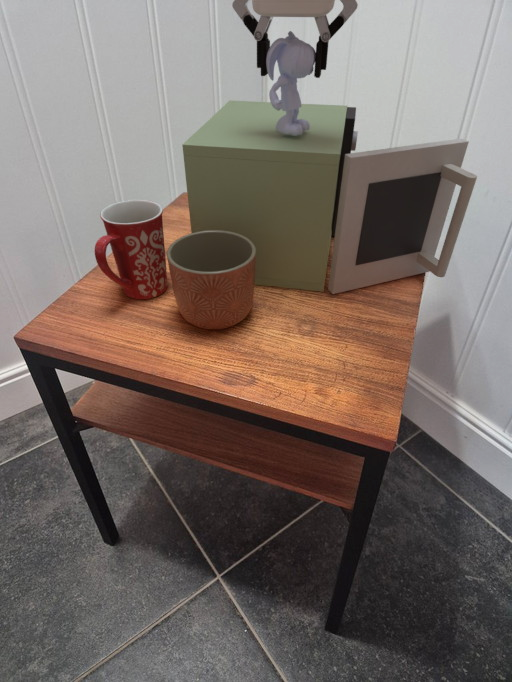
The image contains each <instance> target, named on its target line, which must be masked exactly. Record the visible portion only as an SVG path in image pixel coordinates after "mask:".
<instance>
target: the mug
mask: <svg viewBox="0 0 512 682" xmlns="http://www.w3.org/2000/svg"><path fill="white" fill-rule="evenodd" d="M163 213H164V209H163V207H162V205H160V204H159V203H158V202H155V201H151V200H147V199H127V200H122V201H118V202H114V203H112V204H109V205H107V206H106V207H104V208H103V209H102V210H101V211H100V213H99V217H100V220H101V221H102V222H103V225H104V229H105V232H106V235H103V236H101V237H99V238H98V240H97V241H96V243H95V246H94V257H95V262H96V264H97V266H98V268H99V269H100V270H101V272H102V273H103V274H104V275H105V276H106V277H107V278H109V279H110V280H111V281H113V282H114V283H115V284H117V285H119V286H121V287H122V289H123V292H124V294H125V296H127V297H129V298H131V299H135V300H148V299H153V298H157V297H158V296H161V295H162V294H164V293H165V292H166V290H168V273H167V272H168V271H167V256H166V248H165V247H166V246H165V236H164V225H163V224H164V223H163ZM108 246H110V249H111V252H112V255H113V259H114V263H115V265H116V269H117V272H118V275H117V274H116V273H114V272H113V270H112V268H111V267H110V266H109V264H108V263H109V262H108V259H107V249H108Z"/></svg>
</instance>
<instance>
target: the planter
mask: <svg viewBox="0 0 512 682" xmlns="http://www.w3.org/2000/svg"><path fill="white" fill-rule="evenodd" d="M166 260H167V264H168V269H169V270H168V271H169V275H170V279H171V280H170V281H171V285H172V290H173V294H174V299H175V303H176V305H177V308H178V309H177V310H178V311H179V313H180V315H181V316H182V318H183V319H184V320H185V321H187V322H188V323H189V324H191V325H193V326H195V327H198V328H199V329H205V330H222V329H223V330H224V329H227V328H231V327H233V326H235V325H238V324H239V323H241V322H242V321H243V320H244V319H245V318H246V317H247V316H248V315H249V314H250V311H251V309H252V306H253V302H254V296H255V286H256V285H255V262H256V248H255V246H254V244H253V243H252V242H251V241H250V240H249V239H248V238H246V237H245V236H242V235H240V234H237V233H234V232H229V231H221V230H207V231H199V232H195V233H188V234H185V235H183V236H181V237H178V238H177V239H176V240H174V241H173V242H172V243H171V244H170V245H169V247H167V251H166Z"/></svg>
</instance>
